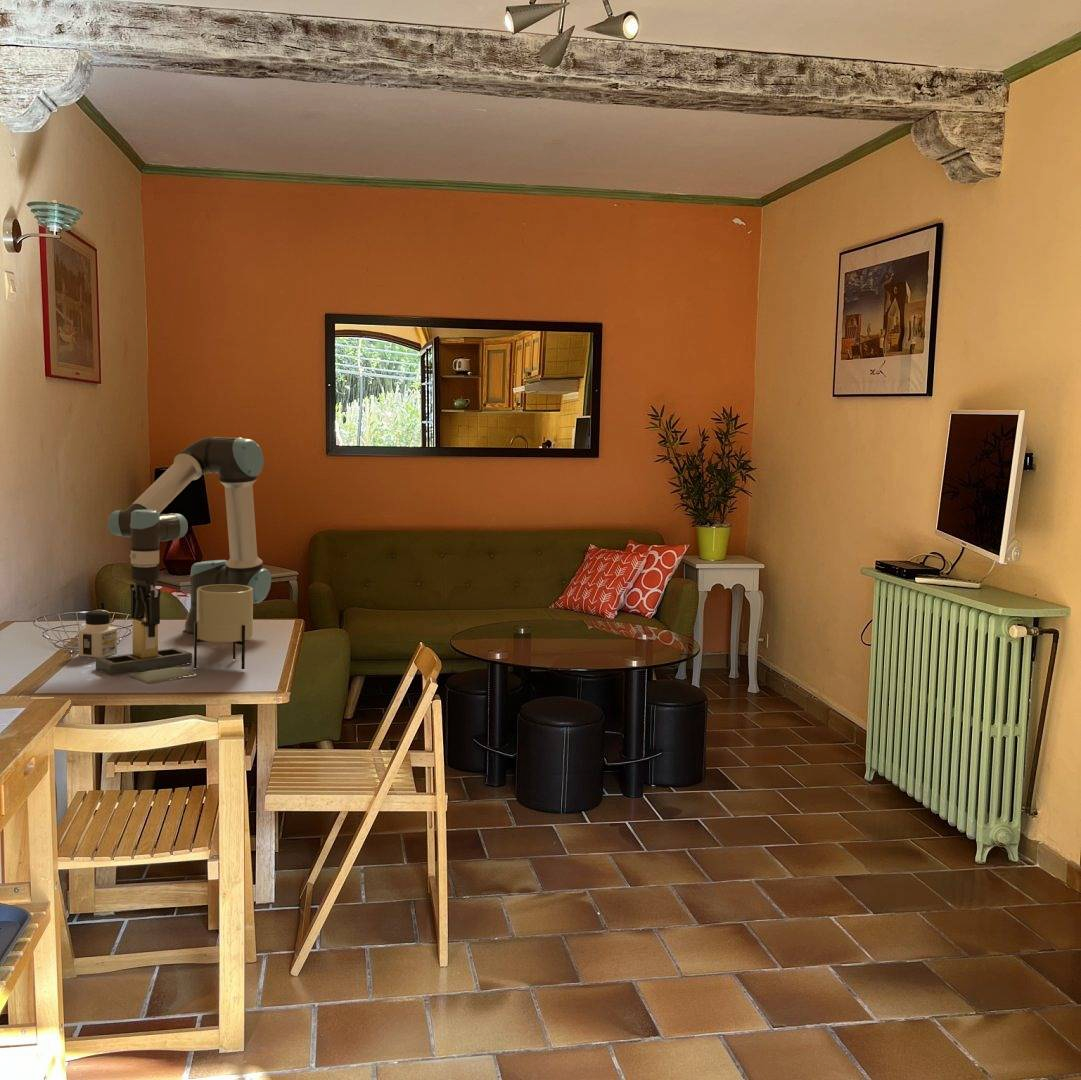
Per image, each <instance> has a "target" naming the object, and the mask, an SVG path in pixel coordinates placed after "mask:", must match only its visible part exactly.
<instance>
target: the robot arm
mask: <svg viewBox="0 0 1081 1080" xmlns="http://www.w3.org/2000/svg"><path fill="white" fill-rule="evenodd" d="M264 462H265V461H264V455H263V451H262V449H261V447H260V445H259V444H258V443H257V442H256V441H255V440H253V439H250V438H243V437H226V436H224V437H222V436H208V437H204V438H203V437H202V438H200V439H199V440H196V441H194V442H193V443H191V444H189V445H188V446H187V447H185V448H184V449H182V450H181V451H180V452H179V453H177V455H176V456H175V457H174V459H173V463H172V464H171V465H170V466H169V467H168V468H167V469H166V470H165V471H164V472H163V473H161V475H160V476H159V477H158V478H157V479H156V480H155V481H154V482H153V483H152V484H150V486H149V487H148V488H146V489H145V491H143V493H141V495H139V496H138V497H137V499H136V500H134V502H132V504H130V506H128V507H127V508H126V509H125V510H123V509H120V510H119V509H117V510H114V511H112V512H111V513H110V514H109V516H108V521H107V526H108V529H109V531H110V533H111V534H112V535H114V536H118V537H124V538H130V554H129V558H130V564H131V566H130V579H131V580H135V582H134V583H130V584H129V589H130V618H131V619H133V620H134V619H141V618H146V624H145V625H144V626H145V649H150V648H155V625H157V624H158V625H160V622H161V621H160V620H161V610H160V609H161V607H160V606H161V605H160V604H161V602H160V601H161V599H160V598H161V589H156V584H155V581H156V580H158V579H159V578H160V566H159V564H160V542H161V543H162V542H166V541H176V540H179V539H181V538H184V537H185V535H186V534H187V533H188V530H189V529H188V528H189V525H188V524H189V523H188V520H187V519H186V517H185V516H184V515H183V514H181V513H173V512H171V513H162V512H163V510H165V509H166V508H167V507H168V505H169V504H171V503H172V502H173V501H174V499H175V498H176V497H177V496H178V495H180V493H182V492H183V490H184V489H185V488H186V487H187V486H188V485H189V484H190V483H191V482H192V481H196V480H198V479H200V478H201V477H202V476H203V475H207V474H218V481H219V483H221V485H222V486H223V487H224V495H225V496H224V497H225V507H226V509H225V510H226V521H227V535H228V536H227V537H228V547H229V559H228V560H226V559H215V560H205V561H200V562H194V563H193V564H192V565H191V567H190V568H191V569H190V574H189V575H190V576H189V577H190V607H189V610H188V613H187V616H186V619H185V622H184V631H185V632H187V633H190V634H194V622H197V588H199V587H201V586H206V585H215V584H236V585H245V586H249V587H252V588H253V604H260V603H262V602H263V601H264V600H265V599H266V598H267V596H268V594H269V592H270V590H271V585H272V576H271V575H272V574H271V572H270V570H268V569H266V568H264V563H263V560H262V559H261V558H260V557H259V556H258V546H257V532H256V518H255V517H256V515H255V502H254V501H255V500H254V491H253V490H254V488H253V486H254V484H255V483H256V482H257V480H258V476H259V475H260V474H261V473H262V470H263V467H264V464H265V463H264Z"/></svg>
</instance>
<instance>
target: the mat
mask: <svg viewBox="0 0 1081 1080" xmlns="http://www.w3.org/2000/svg"><path fill="white" fill-rule="evenodd" d="M194 674H196V675H197V673H196V672H193V671H191V670H188V669H185V668H183V667H181V666H172V667H165V668H158V669H152V670H145V671H139V672H132V673H130V677H132V678H135V679H137V680H139V681H141V682H143V683H146V684H153V683H160V682H166V681H171V680H170V679H173V680H175V679H174V678H179V677H183V676H189V675H194ZM179 679H180V678H179Z"/></svg>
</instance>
